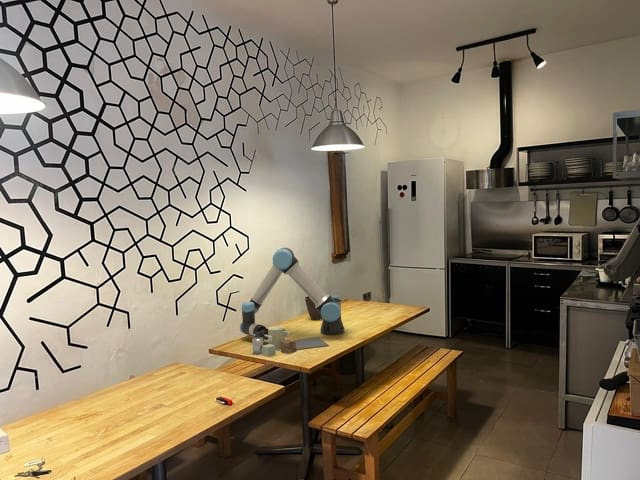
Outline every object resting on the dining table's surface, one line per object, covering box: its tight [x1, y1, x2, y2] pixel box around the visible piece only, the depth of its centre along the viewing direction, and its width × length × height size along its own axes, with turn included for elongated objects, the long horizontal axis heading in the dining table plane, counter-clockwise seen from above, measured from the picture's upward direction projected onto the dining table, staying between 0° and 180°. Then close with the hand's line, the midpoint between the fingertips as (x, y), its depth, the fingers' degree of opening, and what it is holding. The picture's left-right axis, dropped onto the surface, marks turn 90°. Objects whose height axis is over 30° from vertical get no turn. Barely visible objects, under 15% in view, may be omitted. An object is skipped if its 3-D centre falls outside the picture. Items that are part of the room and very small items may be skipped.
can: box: [267, 325, 285, 351], centre depth 266 cm, size 9×9×12 cm
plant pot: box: [304, 295, 323, 321], centre depth 336 cm, size 15×15×16 cm
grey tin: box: [251, 337, 265, 356], centre depth 258 cm, size 6×6×8 cm
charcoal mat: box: [294, 336, 330, 351], centre depth 272 cm, size 20×20×1 cm
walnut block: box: [280, 338, 297, 355], centre depth 258 cm, size 6×6×6 cm
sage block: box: [261, 343, 277, 357], centre depth 254 cm, size 5×5×5 cm
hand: (280, 336), depth 263 cm, fingers open, 11 cm apart
